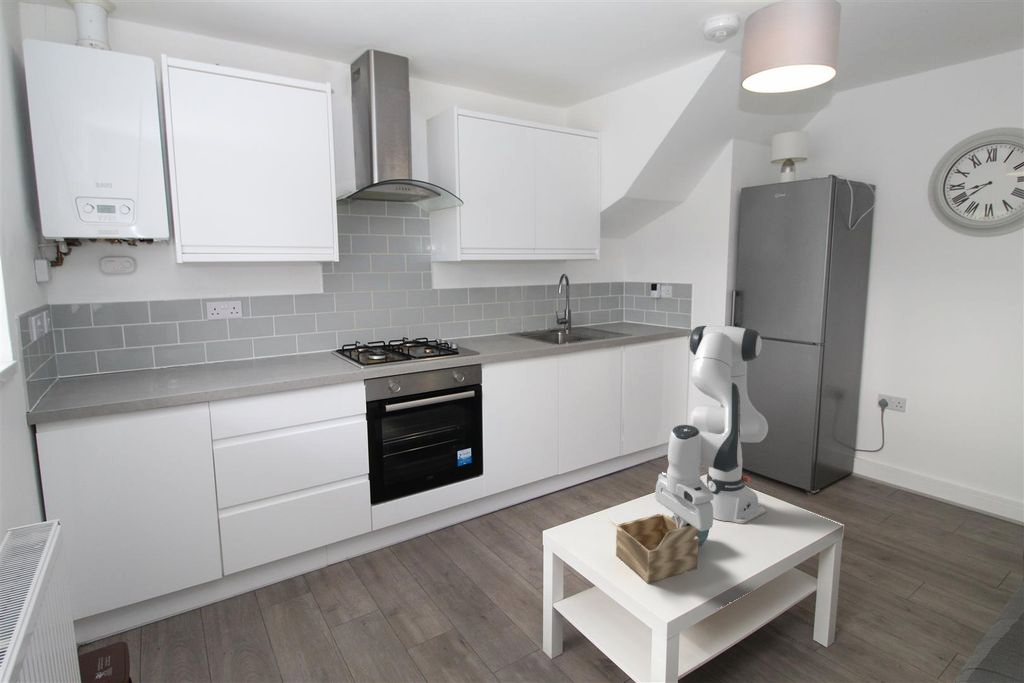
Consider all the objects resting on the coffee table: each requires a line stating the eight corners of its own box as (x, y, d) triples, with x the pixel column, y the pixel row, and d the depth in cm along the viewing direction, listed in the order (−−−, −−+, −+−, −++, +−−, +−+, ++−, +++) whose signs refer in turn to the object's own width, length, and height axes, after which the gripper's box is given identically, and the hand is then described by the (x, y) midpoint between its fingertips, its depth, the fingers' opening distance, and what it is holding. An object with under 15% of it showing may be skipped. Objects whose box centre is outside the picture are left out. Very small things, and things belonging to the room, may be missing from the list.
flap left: (704, 521, 152) (705, 522, 151) (691, 538, 157) (692, 539, 157) (667, 531, 147) (668, 532, 146) (656, 549, 152) (656, 550, 152)
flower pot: (688, 555, 167) (689, 528, 165) (669, 541, 175) (670, 516, 173) (710, 548, 170) (711, 522, 169) (690, 535, 178) (691, 510, 177)
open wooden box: (662, 540, 175) (663, 512, 173) (698, 567, 160) (700, 537, 158) (614, 554, 168) (615, 525, 166) (648, 584, 153) (649, 552, 151)
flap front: (605, 517, 158) (604, 518, 158) (621, 530, 151) (620, 531, 151) (624, 531, 162) (623, 532, 162) (640, 544, 155) (639, 545, 155)
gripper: (650, 471, 156) (649, 514, 159) (699, 502, 138) (697, 550, 140) (668, 467, 159) (666, 510, 161) (718, 497, 140) (715, 545, 143)
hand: (681, 529), depth 151 cm, fingers closed
